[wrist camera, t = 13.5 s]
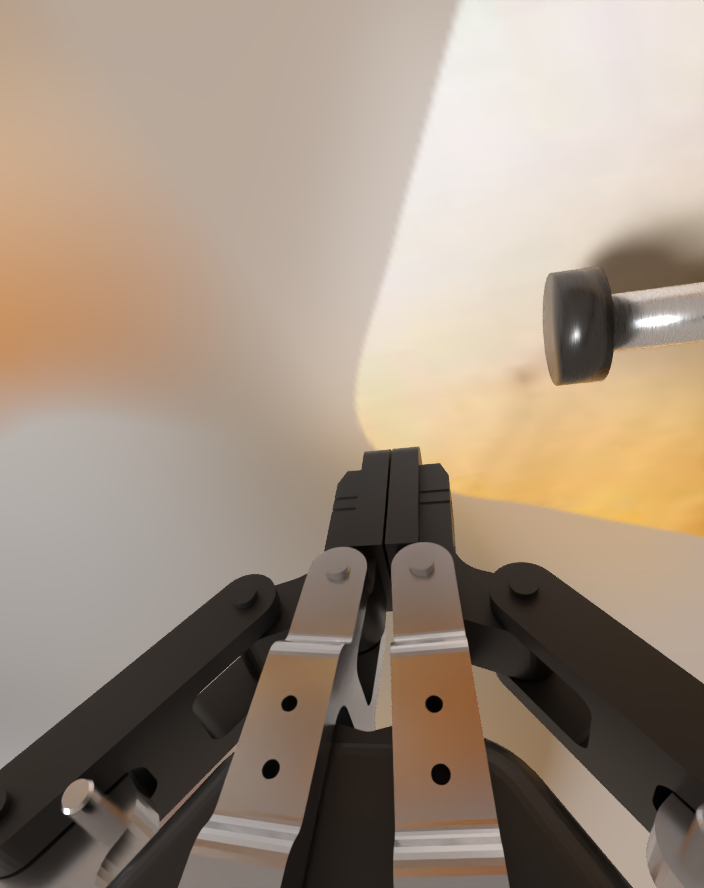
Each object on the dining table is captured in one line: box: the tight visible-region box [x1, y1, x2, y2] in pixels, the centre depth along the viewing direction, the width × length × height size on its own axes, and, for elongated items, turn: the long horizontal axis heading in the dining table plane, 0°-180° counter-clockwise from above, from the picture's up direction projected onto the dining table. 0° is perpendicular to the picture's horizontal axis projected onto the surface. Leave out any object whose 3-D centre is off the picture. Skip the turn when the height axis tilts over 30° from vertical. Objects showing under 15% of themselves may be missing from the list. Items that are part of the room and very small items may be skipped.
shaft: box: [543, 266, 704, 386], centre depth 18 cm, size 4×10×4 cm, turn 101°
